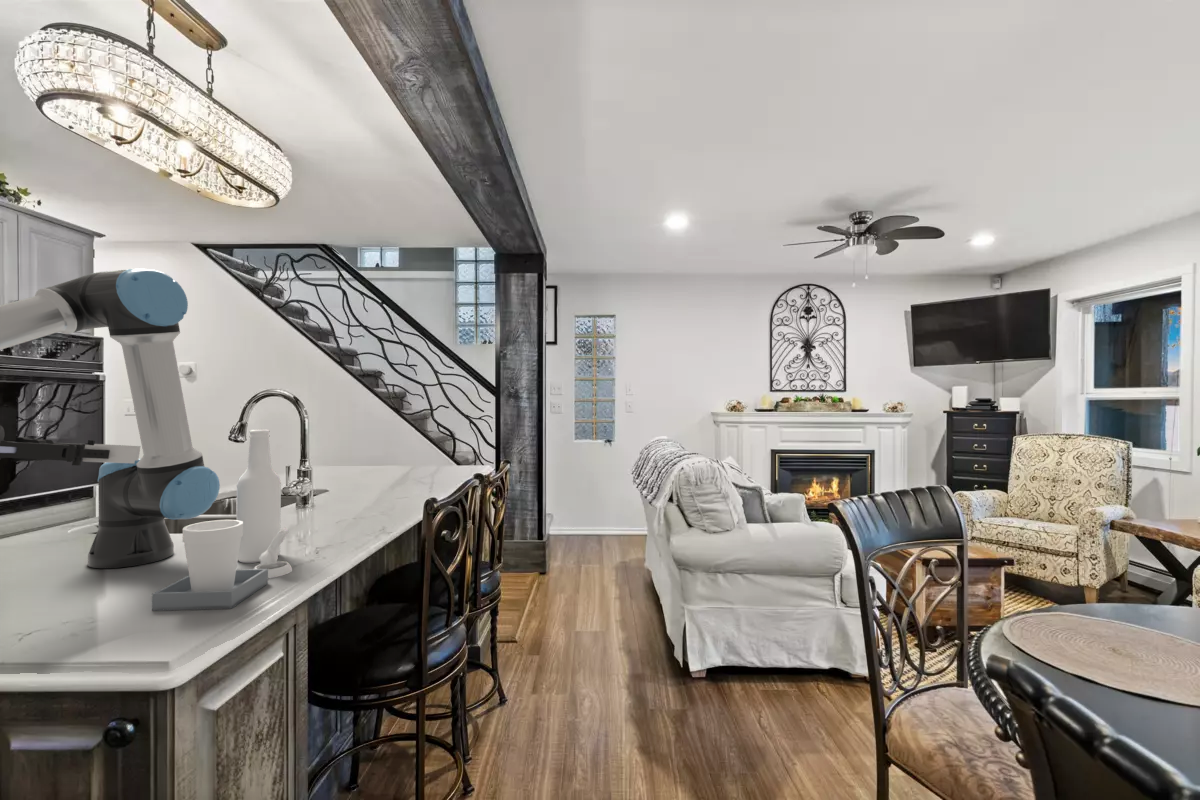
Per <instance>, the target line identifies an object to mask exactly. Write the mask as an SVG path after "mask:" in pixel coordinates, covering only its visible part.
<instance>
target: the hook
mask: <svg viewBox="0 0 1200 800" xmlns="http://www.w3.org/2000/svg"><path fill="white" fill-rule="evenodd" d="M288 534H289V529H288V528H287V527H285V526H284V527H282V528H281V530H280V531H279V532H278V533H277V535H276V536H275V538H274V539H273V541H272V543H271V544H270V546H269V547H268V549H267V550H266V551H265V552H264V553H262V554H261V556H260V557H259V561H260V562H259V564H257V565H255V566H254V567H253V569H268V579H271V578H278V577H282V576H285V575H288V574H290V573H291V572H292V571H293V567H292V566H291V564H290V562H288V561H287V560H286V561H284V560H278V559H279V557H278V556H279V555H278V556H277V549H278V548H279V546H280V547H281V545H282V543H283V542H284V540H285V538H286V537H287V536H288Z"/></svg>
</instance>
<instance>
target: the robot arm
mask: <svg viewBox="0 0 1200 800" xmlns="http://www.w3.org/2000/svg"><path fill="white" fill-rule="evenodd" d="M188 304H189V301H188V298H187V294H186V293H185V291H184V289H183V287H182V286H181V285H180V284H179V282H178V281H176V280H175V279H173V278H172V277H171V276H170V275H168V274H167V273H165V272H163V271H160V270H156V269H150V268H148V269H147V268H140V267H139V268H129V269H121V270H112V271H111V270H109V271H107V270H106V271H98V272H93V273H89V274H86V275H82V276H79V277H77V278H74V279H70V280H68V281H65V282H61V283H58V284H54V285H51V286H48V287H44V288H40V289H38V290H37V291H36V292H35V294H34V296H31V297H27V298H23V299H19V300H15V301H10V302H7V303H5V304H4V303H3V304H0V351H1V350H4V349H7V348H11V347H14V346H18V345H21V344H24V343H28V342H30V341H33V340H36V339H39V338H40V339H41V338H43V337H46V336H50V335H53V334H57V333H61V334H64V335H69V334H73V333H77V332H80V331H83V330H89V329H99V328H108V329H107V330H108V334H109V337H110V338H111V339H112V340H114V341H116V342H118V343H119V344H120V345H121V348H122V349H121V350H122V353H123V359H124V363H125V368H126V372H127V380H128V384H129V389H130V393H131V397H132V404H133V408H134V412H135V418H136V423H137V428H138V433H139V437H140V443H141V445H125V444H124V445H123V444H106V443H104V444H103V443H96V440H92V439H88V441H87V442H85V443H70V442H69V443H68V442H54V441H53V440H51V439H38V438H37V439H36V438H35V437H28V436H25V437H23V436H15V440H14V441H7V440H5V439H4V438H5V433H6V432H5V429H4V427H3V426H2V425H0V459H7V458H8V459H10V458H11V462H16V463H17V462H19V463H21V462H22V463H26V462H42V461H65V462H70V463H71V465H72V466H82V462H84V463H85V462H86V463H103V464H101V465H100V467H99V468H98V469H99V470H98V477H97V483H98V529H97V532H96V534H95V536H94V540H93V541H92V544H91V547H90V549H89V552H88V554H87V567H90V568H94V569H116V568H117V569H119V568H127V567H135V566H141V565H146V564H151V563H154V562H159V561H161V560H164V559H168V558H170V557H171V556H173V555H174V553H175V552H174V551H175V550H174V549H175V548H174V542H173V540H172V537H171V535H170V532H169V530H168V527H167V525H166V522H165V521H166V520H165V519H169V520H191V519H194V518H197V517H199V516H202V515H203V514H204V513H206V512H207V511H208V510H210V508H211V507H213V506H212V505H213V504H214V502H216V500H217V498H218V496H219V493H220V488H221V485H220V479H219V477H218V475H217V473H216V472H215V471H213V469H211V468H210V467H207V466H205V462H204V457H203V453H202V452H201V451H199V449H196V448H194V447H193V442H192V437H191V432H190V425H189V420H188V416H187V410H186V404H185V399H184V394H183V387H182V382H181V377H180V371H179V367H178V361H177V357H176V356H177V355H176V351H175V345H174V341H175V339H176V338H177V337H179V335H180V333H181V330H180V324H179V323H180V322H181V321H182V320H183V319H184V317H185V315H186V314H187V312H188V309H189V305H188ZM141 448H142V449H141ZM141 450H142V454H143V456H142V457H141V458H140V451H141Z"/></svg>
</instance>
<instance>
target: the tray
mask: <svg viewBox="0 0 1200 800" xmlns="http://www.w3.org/2000/svg"><path fill="white" fill-rule="evenodd" d="M268 579H269V578H268V569H254V568H250V569H249V568H248V569H247V568H243V569H242V568H241V569H238V568H236V575H235V581H234V588H233V589H232V590H231V591H203V592H192V590H191V584H190V577H189V574H188V575H186V576H184V577H182V578H180V579H178V580H177V581H175V582H172V583H171V584H169V585H167V586H165V587H163V588H161V589H159V590H156V591H155V592H153V593H152V594H151V595H152V596H151V611H152V612H154V611H155V612H157V611H191V610H192V611H193V610H195V611H197V610H224V609H225V610H228V609H230V610H231V609H233V608H235V607H236V606H238V605H239V604H241V603H242V602H243V601H245V600H246V599H248V598H249V597H250V596H252V595H254V594H255V593H256V592H258V591H259V590H261V589H262V588H264V587H265V586H266V585H268V583H269V580H268Z"/></svg>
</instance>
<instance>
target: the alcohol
mask: <svg viewBox="0 0 1200 800" xmlns="http://www.w3.org/2000/svg"><path fill="white" fill-rule="evenodd" d="M269 433H270V430H269V429H250V430H249V448H248V458H247V466H246V469H245V471H244V472H243V473H242V474H241V475H240V477H239V478H238V480H237V484H236V519H235V520H239V521H243V536H241V542H240V548H239V555H238V562H240V563H244V564H256V563H260V561H259V557H260V556H261V554H262V553H264V552H265V551H266V550H267V549H268V547H269V546H270V544H271V543H272V541H273V539H274V538H275V536H276V535H277V533H278V532H279V531H280V530H281V529H282V528H281V522H282V514H281V513H282V511H281V510H282V507H281V505H282V504H281V503H282V499H281V498H282V494H281V493H282V482H281V479H280V478H281V477H280V476H279V474H278V473H277V472H276V471H275V470H274V469H273V467H272V460H271V450H270V449H271V448H270V434H269ZM280 554H281V545H280V546H279V548H278V549H277V556H279V555H280Z"/></svg>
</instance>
